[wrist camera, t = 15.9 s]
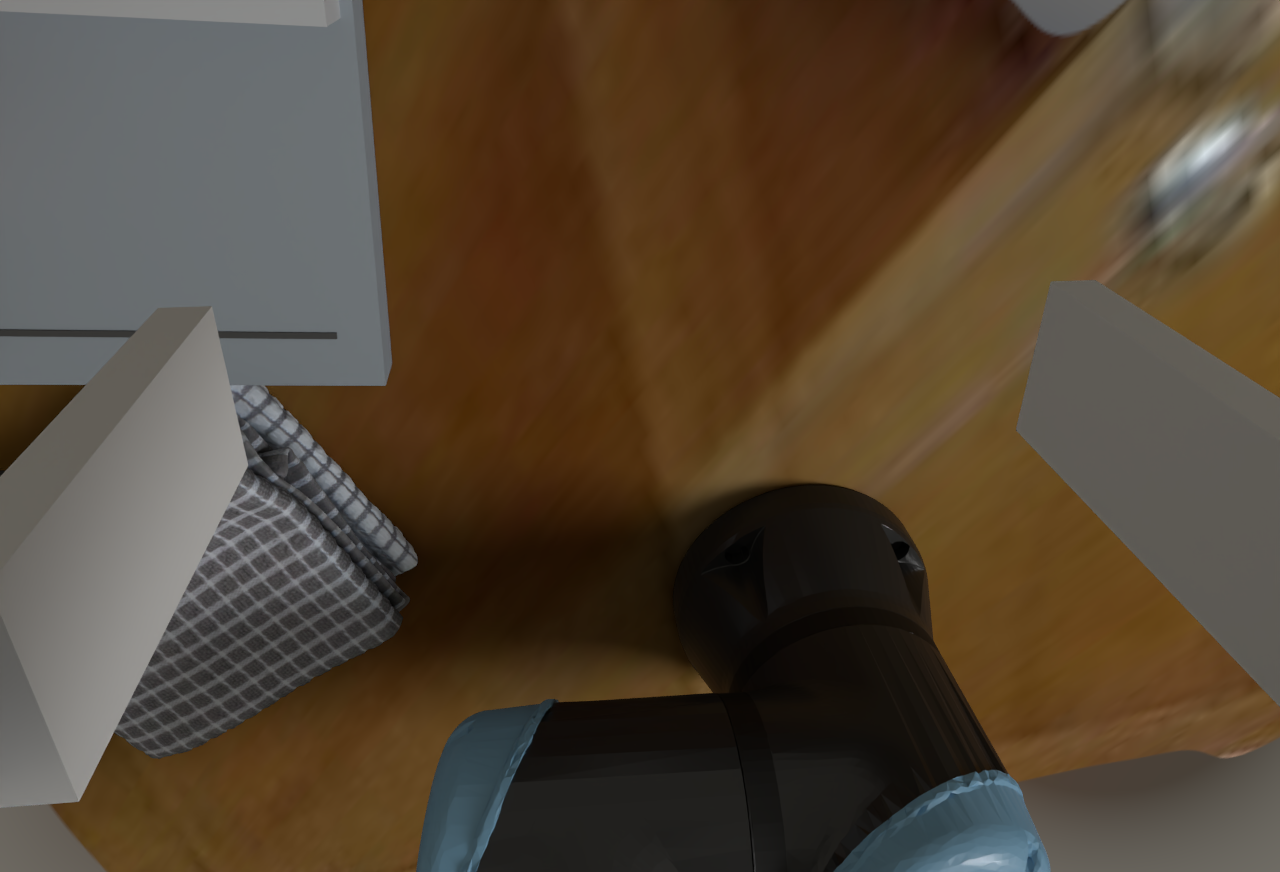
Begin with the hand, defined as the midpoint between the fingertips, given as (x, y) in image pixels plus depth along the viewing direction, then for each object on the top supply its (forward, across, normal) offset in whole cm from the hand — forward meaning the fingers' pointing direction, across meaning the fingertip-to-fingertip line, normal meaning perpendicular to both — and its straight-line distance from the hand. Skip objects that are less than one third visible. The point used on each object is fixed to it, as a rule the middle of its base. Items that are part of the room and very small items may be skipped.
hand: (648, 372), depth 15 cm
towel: (+31, +20, +24) cm, 44 cm away
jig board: (+30, +22, +4) cm, 37 cm away
